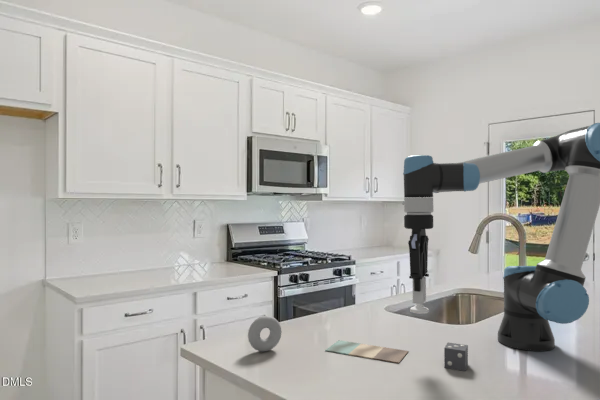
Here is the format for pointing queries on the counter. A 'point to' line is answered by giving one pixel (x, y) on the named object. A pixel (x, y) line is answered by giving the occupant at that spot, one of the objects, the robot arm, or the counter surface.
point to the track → (368, 351)
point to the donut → (257, 327)
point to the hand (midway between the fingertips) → (419, 302)
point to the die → (456, 356)
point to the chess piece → (419, 309)
